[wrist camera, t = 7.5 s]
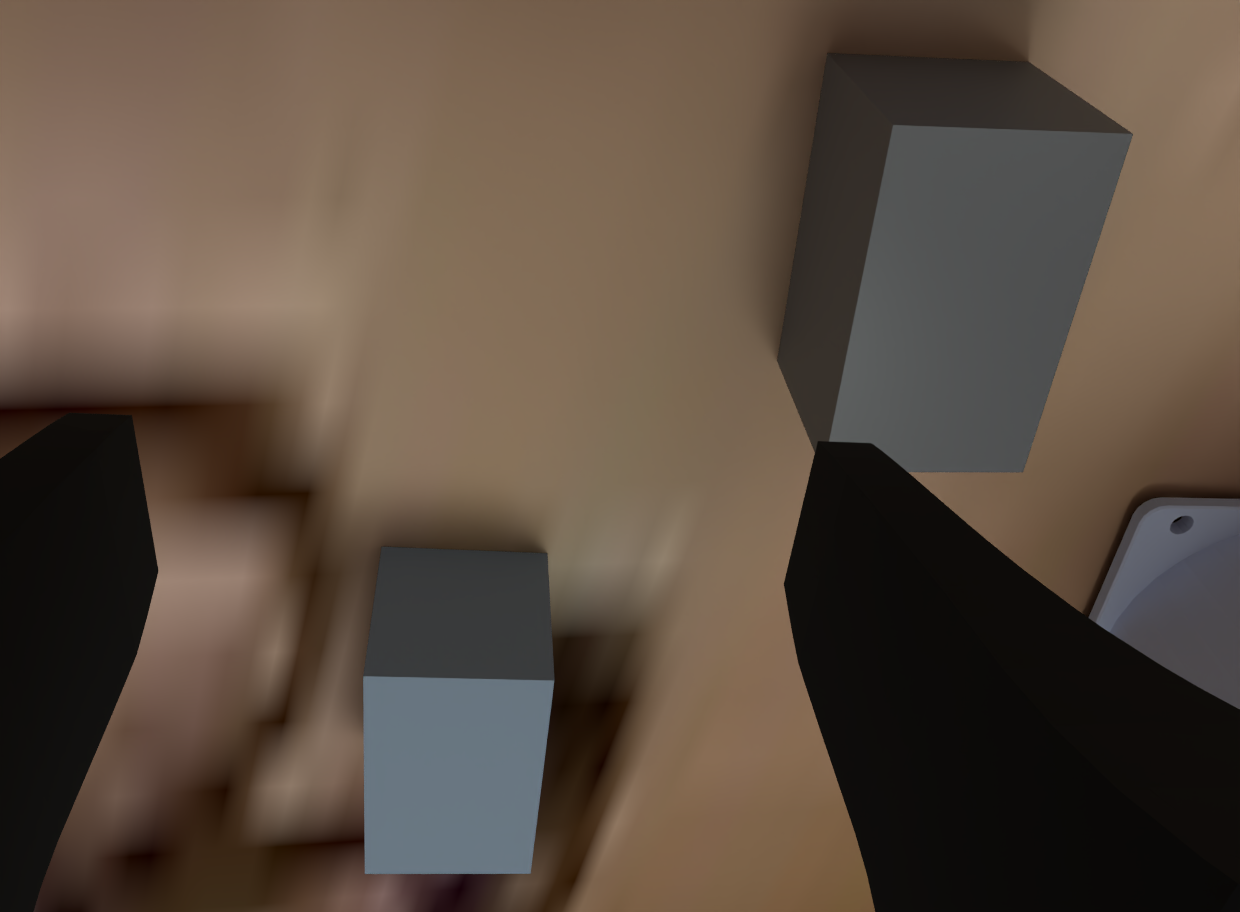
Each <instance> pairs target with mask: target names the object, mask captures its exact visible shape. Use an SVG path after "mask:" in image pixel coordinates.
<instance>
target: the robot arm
mask: <svg viewBox="0 0 1240 912" xmlns="http://www.w3.org/2000/svg"><path fill="white" fill-rule="evenodd" d="M1181 516H1183V517H1182V518H1181V519H1180V520H1178V521H1177V522H1175V523H1172V522H1173V521H1174V520H1175V519H1177V518H1179V517H1181ZM157 574H158V566H157V560H156V554H155V548H154V543H153V537H152V531H151V525H150V519H149V513H148V507H147V502H146V496H145V490H144V484H143V478H142V472H141V466H140V461H139V455H138V449H137V443H136V437H135V431H134V425H133V420H132V415H111V414H84V413H68V414H66V415H65V416H63V417H61V418H60V419H58V420H56V421H55V422H53V423H52V424H50V425H49V426H47V427H46V428H44V429H43V430H41V431H40V432H38V433H37V434H35V435H34V436H32V437H31V438H29V439H28V440H26V441H25V442H24V443H22V444H21V445H19V446H18V447H16V448H15V449H14V450H12V451H11V452H9V453H8V454H6V455H5V456H4V457H2V458H1V459H0V912H33V911H34V908H35V904H36V901H37V898H38V895H39V891H40V888H41V885H42V882H43V879H44V877H45V874H46V871H47V869H48V866H49V863H50V861H51V858H52V855H53V853H54V850H55V847H56V845H57V842H58V839H59V837H60V835H61V832H62V830H63V828H64V825H65V823H66V821H67V818H68V816H69V814H70V811H71V809H72V807H73V804H74V802H75V800H76V797H77V795H78V793H79V790H80V788H81V786H82V783H83V781H84V779H85V776H86V774H87V772H88V769H89V767H90V765H91V762H92V760H93V758H94V755H95V753H96V751H97V748H98V746H99V744H100V741H101V739H102V737H103V734H104V732H105V729H106V727H107V725H108V722H109V720H110V718H111V715H112V713H113V711H114V708H115V706H116V703H117V701H118V699H119V696H120V694H121V691H122V689H123V687H124V684H125V682H126V679H127V677H128V675H129V672H130V670H131V667H132V665H133V662H134V660H135V657H136V655H137V651H138V648H139V644H140V640H141V637H142V633H143V630H144V626H145V622H146V619H147V615H148V611H149V607H150V603H151V599H152V595H153V591H154V587H155V583H156V579H157ZM784 587H785V593H786V599H787V605H788V611H789V617H790V623H791V628H792V633H793V638H794V643H795V648H796V653H797V658H798V663H799V666H800V669H801V672H802V676H803V679H804V682H805V685H806V688H807V691H808V694H809V697H810V700H811V703H812V706H813V709H814V712H815V715H816V719H817V722H818V725H819V728H820V730H821V733H822V736H823V739H824V742H825V745H826V748H827V751H828V754H829V757H830V760H831V763H832V766H833V769H834V772H835V775H836V778H837V781H838V784H839V787H840V790H841V793H842V796H843V799H844V802H845V804H846V807H847V810H848V813H849V816H850V819H851V822H852V825H853V828H854V831H855V834H856V838H857V841H858V844H859V848H860V851H861V855H862V858H863V862H864V865H865V869H866V872H867V876H868V881H869V885H870V890H871V894H872V899H873V903H874V908H875V912H1240V499H1220V498H1169V497H1160V498H1153V499H1150V500H1148V501H1146V502H1144V503H1143V504H1141V505H1140V506H1139V507H1138V508H1137V509H1136V511H1135V512H1134V514H1133V515H1132V518H1131V520H1130V522H1129V525H1128V527H1127V529H1126V532H1125V534H1124V536H1123V539H1122V541H1121V543H1120V546H1119V548H1118V550H1117V553H1116V555H1115V557H1114V560H1113V562H1112V564H1111V567H1110V569H1109V571H1108V574H1107V576H1106V578H1105V581H1104V583H1103V585H1102V587H1101V590H1100V592H1099V594H1098V597H1097V599H1096V601H1095V604H1094V606H1093V608H1092V611H1091V613H1090V615H1089V618H1088V617H1086V616H1085V615H1084V614H1082V613H1081V612H1079V611H1078V610H1076V609H1075V608H1074V607H1072V606H1071V605H1070V604H1068V603H1067V602H1066V601H1064V600H1063V599H1062V598H1060V597H1059V596H1058V595H1056V594H1055V593H1054V592H1052V591H1051V590H1050V589H1048V588H1047V587H1046V586H1044V585H1043V584H1042V583H1040V582H1039V581H1038V580H1036V579H1035V578H1034V577H1032V576H1031V575H1030V574H1028V573H1027V572H1026V571H1024V570H1023V569H1022V568H1021V567H1019V566H1018V565H1017V564H1016V563H1014V562H1013V561H1012V560H1011V559H1009V558H1008V557H1007V556H1006V555H1004V554H1003V553H1002V552H1001V551H999V550H998V549H997V548H996V547H995V546H993V545H992V544H991V543H990V542H988V541H987V540H986V539H985V538H984V537H983V536H981V535H980V534H979V533H978V532H977V531H975V530H974V529H973V528H972V527H971V526H969V525H968V524H967V523H966V522H965V521H964V520H962V519H961V518H960V517H959V516H958V515H957V514H955V513H954V512H953V511H952V510H951V509H950V508H948V507H947V506H946V505H945V504H944V503H943V502H941V501H940V500H939V499H938V498H937V497H936V496H935V495H933V494H932V493H931V492H930V491H929V490H928V489H927V488H925V487H924V486H923V485H922V484H921V483H920V482H918V481H917V480H916V479H915V478H914V477H913V476H912V475H910V474H909V473H908V472H907V471H906V470H905V469H903V468H902V467H901V466H900V465H899V464H897V463H896V462H895V461H894V460H893V459H891V458H890V457H889V456H888V455H887V454H885V453H884V452H883V451H881V450H880V449H879V448H877V447H876V446H875V445H873V444H872V443H857V442H830V441H818V442H817V447H816V451H815V455H814V459H813V463H812V468H811V472H810V476H809V480H808V485H807V489H806V493H805V497H804V501H803V506H802V510H801V514H800V518H799V522H798V527H797V531H796V535H795V539H794V544H793V548H792V552H791V556H790V560H789V565H788V569H787V573H786V577H785V581H784Z"/></svg>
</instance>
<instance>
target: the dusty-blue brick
mask: <svg viewBox="0 0 1240 912" xmlns="http://www.w3.org/2000/svg"><path fill="white" fill-rule="evenodd" d="M553 687H554V667H553V648H552V630H551V611H550V593H549V574H548V556H547V553H527V552H503V551H478V550H453V549H428V548H403V547H381V554H380V562H379V569H378V576H377V583H376V590H375V597H374V604H373V611H372V618H371V625H370V632H369V639H368V646H367V653H366V660H365V667H364V674H363V704H364V816H365V874H530V873H531V865H532V856H533V848H534V840H535V832H536V824H537V816H538V808H539V800H540V792H541V784H542V776H543V767H544V759H545V751H546V743H547V735H548V727H549V719H550V711H551V703H552V695H553Z"/></svg>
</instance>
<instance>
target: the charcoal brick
mask: <svg viewBox="0 0 1240 912" xmlns="http://www.w3.org/2000/svg"><path fill="white" fill-rule="evenodd" d="M1132 136H1133V134H1132V133H1131V132H1130V131H1128V130H1127V129H1125V128H1124V127H1122V126H1121V125H1119V124H1118V123H1116V122H1115V121H1114V120H1112V119H1111V118H1109V117H1108V116H1106V115H1105V114H1103V113H1102V112H1101V111H1099V110H1098V109H1096V108H1095V107H1093V106H1092V105H1090V104H1089V103H1088V102H1086V101H1085V100H1083V99H1082V98H1080V97H1079V96H1077V95H1076V94H1074V93H1073V92H1072V91H1070V90H1069V89H1067V88H1066V87H1064V86H1063V85H1061V84H1060V83H1059V82H1057V81H1056V80H1054V79H1053V78H1051V77H1050V76H1048V75H1047V74H1045V73H1044V72H1043V71H1041V70H1040V69H1038V68H1037V67H1035V66H1034V65H1032V64H1031V63H1030V62H1017V61H995V60H972V59H949V58H927V57H904V56H881V55H858V54H836V53H827V58H826V64H825V70H824V76H823V82H822V88H821V95H820V101H819V107H818V113H817V119H816V125H815V131H814V138H813V144H812V150H811V156H810V162H809V168H808V174H807V181H806V187H805V193H804V199H803V205H802V211H801V218H800V224H799V230H798V236H797V242H796V248H795V254H794V261H793V267H792V273H791V279H790V285H789V291H788V297H787V304H786V310H785V316H784V322H783V328H782V334H781V340H780V347H779V353H778V359H777V362H778V364H779V367H780V369H781V372H782V374H783V376H784V379H785V381H786V384H787V386H788V389H789V391H790V393H791V396H792V398H793V401H794V403H795V406H796V408H797V410H798V413H799V415H800V418H801V420H802V422H803V425H804V427H805V430H806V432H807V435H808V437H809V439H810V442H811V444H812V447H813V449H814V451H816V447H817V442H818V441H830V442H857V443H872V444H873V445H875V446H876V447H877V448H879V449H880V450H881V451H883V452H884V453H885V454H887V455H888V456H889V457H890V458H891V459H893V460H894V461H895V462H896V463H897V464H899V465H900V466H901V467H902V468H903V469H905V470H906V471H907V472H1023V470H1024V467H1025V464H1026V461H1027V458H1028V455H1029V452H1030V449H1031V446H1032V443H1033V440H1034V437H1035V434H1036V431H1037V427H1038V424H1039V421H1040V418H1041V415H1042V412H1043V409H1044V406H1045V403H1046V400H1047V397H1048V394H1049V391H1050V388H1051V384H1052V381H1053V378H1054V375H1055V372H1056V369H1057V366H1058V363H1059V360H1060V357H1061V354H1062V351H1063V348H1064V345H1065V341H1066V338H1067V335H1068V332H1069V329H1070V326H1071V323H1072V320H1073V317H1074V314H1075V311H1076V308H1077V305H1078V302H1079V298H1080V295H1081V292H1082V289H1083V286H1084V283H1085V280H1086V277H1087V274H1088V271H1089V268H1090V265H1091V262H1092V258H1093V255H1094V252H1095V249H1096V246H1097V243H1098V240H1099V237H1100V234H1101V231H1102V228H1103V225H1104V222H1105V219H1106V215H1107V212H1108V209H1109V206H1110V203H1111V200H1112V197H1113V194H1114V191H1115V188H1116V185H1117V182H1118V179H1119V176H1120V172H1121V169H1122V166H1123V163H1124V160H1125V157H1126V154H1127V151H1128V148H1129V145H1130V142H1131V139H1132Z"/></svg>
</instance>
